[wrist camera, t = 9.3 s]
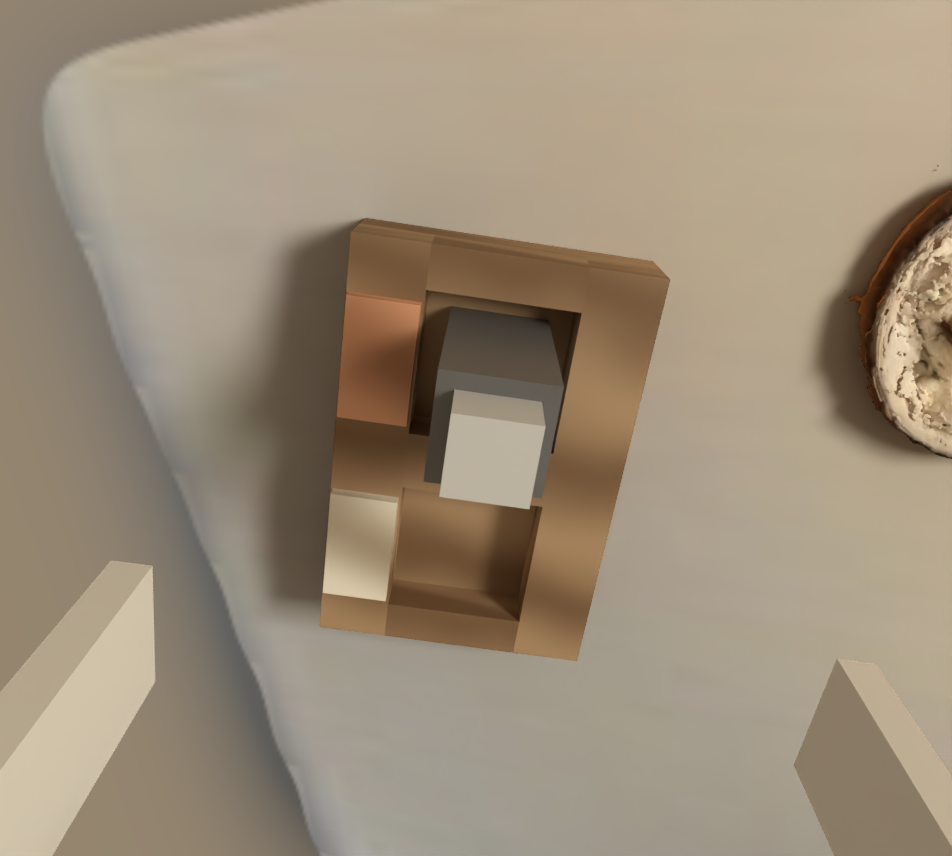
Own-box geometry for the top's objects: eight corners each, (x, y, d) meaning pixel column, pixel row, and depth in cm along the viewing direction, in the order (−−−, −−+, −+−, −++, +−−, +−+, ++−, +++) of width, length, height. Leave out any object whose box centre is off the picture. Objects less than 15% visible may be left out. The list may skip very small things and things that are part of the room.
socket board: (570, 614, 39) (578, 668, 35) (334, 582, 39) (317, 633, 35) (652, 261, 32) (672, 282, 28) (365, 218, 32) (348, 233, 28)
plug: (531, 409, 33) (545, 529, 24) (439, 396, 33) (417, 511, 24) (548, 320, 32) (569, 410, 22) (451, 306, 32) (433, 390, 22)
